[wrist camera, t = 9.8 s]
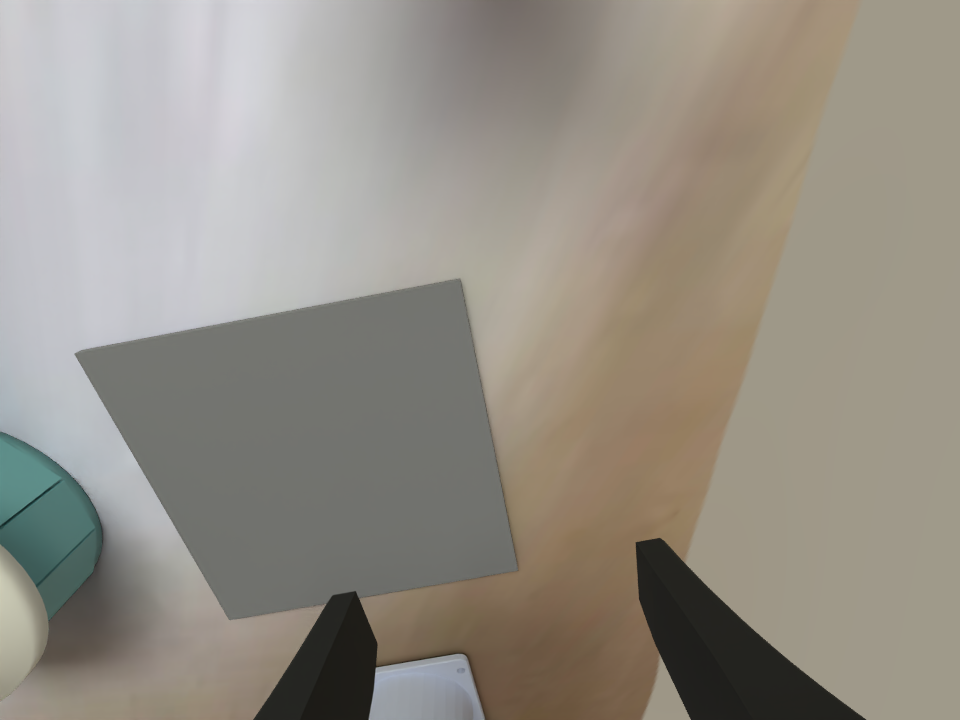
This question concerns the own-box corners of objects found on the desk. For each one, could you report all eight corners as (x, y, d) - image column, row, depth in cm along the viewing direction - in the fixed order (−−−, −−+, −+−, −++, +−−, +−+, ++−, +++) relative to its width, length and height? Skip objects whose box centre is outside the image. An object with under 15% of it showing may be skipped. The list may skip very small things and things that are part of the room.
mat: (517, 564, 24) (518, 570, 24) (232, 613, 25) (229, 620, 25) (460, 278, 18) (460, 280, 18) (81, 350, 19) (74, 353, 18)
